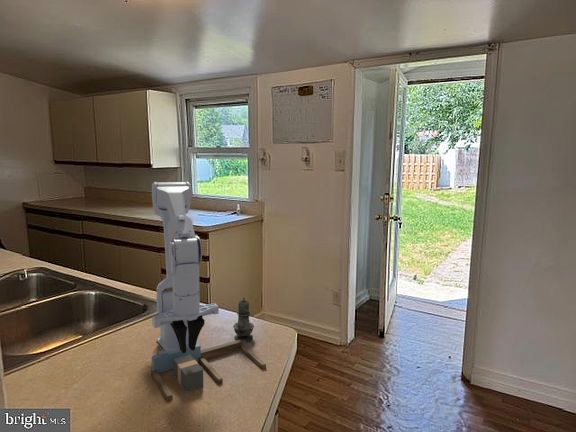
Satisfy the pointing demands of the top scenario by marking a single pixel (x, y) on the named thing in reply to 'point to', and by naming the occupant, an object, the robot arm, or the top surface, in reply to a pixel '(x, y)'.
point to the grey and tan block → (188, 373)
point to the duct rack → (165, 360)
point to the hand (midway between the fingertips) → (187, 349)
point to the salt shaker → (243, 323)
